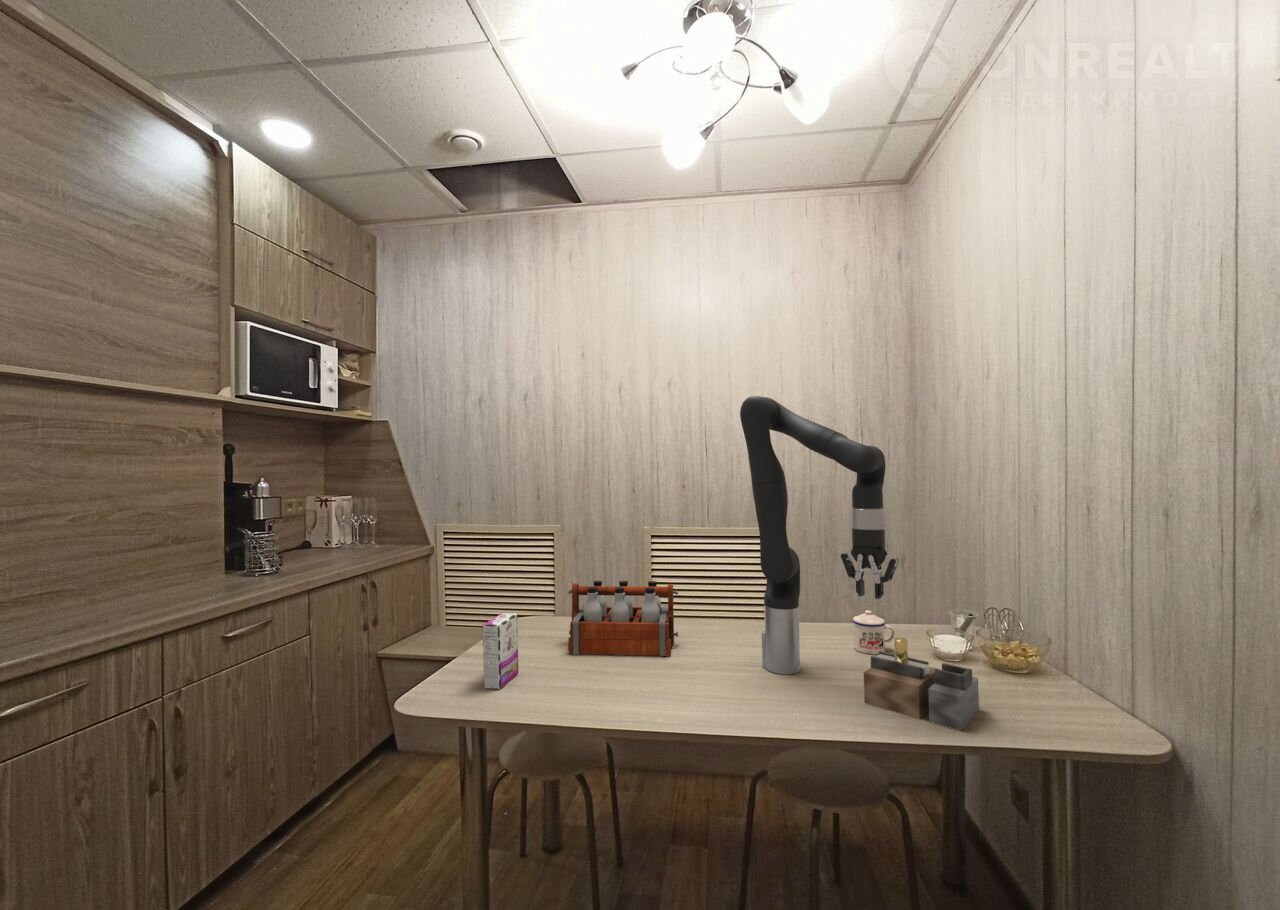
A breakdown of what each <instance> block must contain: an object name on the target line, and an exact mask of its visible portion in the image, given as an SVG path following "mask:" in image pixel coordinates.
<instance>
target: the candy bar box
mask: <svg viewBox="0 0 1280 910" xmlns="http://www.w3.org/2000/svg"><path fill="white" fill-rule="evenodd" d="M518 637H519V635H518V613H510V612H508V613H507V612H502V613H500V614H498V615H497V616H495V617H494V618H492V619H490V620H488V621H486V622H485V623H484V624H482V649H483V657H482V658H483V688H484V687H489V688H502V687H503V686H504V685H505V684H506V683H507V682H508V683H509V682H511V681H512V680H513V679H514V678H515V677H516V676H517V675H518V674H519V644H518V643H519V639H518ZM514 676H515V677H514ZM513 677H514V678H513ZM512 678H513V679H512ZM511 679H512V680H511ZM508 683H507V684H508ZM507 684H506V685H507ZM506 685H505V686H506ZM505 686H504V687H505ZM504 687H503V688H504ZM503 688H502V689H503Z"/></svg>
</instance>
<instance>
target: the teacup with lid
mask: <svg viewBox="0 0 1280 910" xmlns="http://www.w3.org/2000/svg"><path fill="white" fill-rule="evenodd" d="M851 621H852V623H853V627H852V628H853V630H852V631H853V649H854V648H855V649H856V650H857V651H856V650H855V649H854V650H855V651H856V652H858V651H860V652H859V653H861V652H863V653H862V654H865V653H869V654H868V655H879V652H880V651H882V652H886V644H888V643H891V642H892V641H894V638H896V631H895V629H894V627H892V626H890V625H886V621H885V620H884V619H883V617H882V618H881V617H879V616H877V615H875V614H873V611H871V610H867V609H866V610H865V611H864V613H861V614H860V615H855V616H853V618H852V620H851ZM885 629H889V630H890V631H891V636H890V637H889V638H888V639H885V636H886V634H885V632H886V631H885Z"/></svg>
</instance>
